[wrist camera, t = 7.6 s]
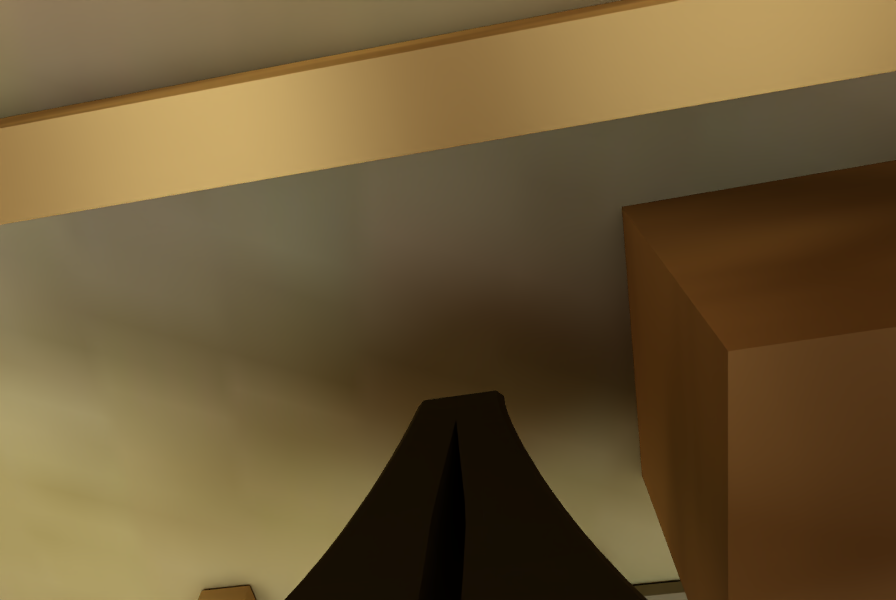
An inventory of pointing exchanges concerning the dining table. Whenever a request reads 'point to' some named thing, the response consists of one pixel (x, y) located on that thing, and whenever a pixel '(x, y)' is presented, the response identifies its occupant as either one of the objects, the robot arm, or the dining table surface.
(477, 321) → the dining table surface
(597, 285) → the dining table surface
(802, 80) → the trap lane
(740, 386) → the walnut block
